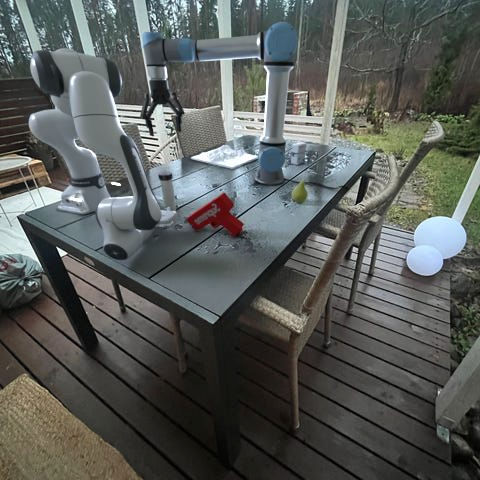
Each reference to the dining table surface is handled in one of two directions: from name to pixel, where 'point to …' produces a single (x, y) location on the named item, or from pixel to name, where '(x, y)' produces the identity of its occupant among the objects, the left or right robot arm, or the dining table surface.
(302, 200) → the fruit
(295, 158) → the ink box
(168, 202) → the bottle
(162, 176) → the lid
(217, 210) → the toy gun
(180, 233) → the dining table surface
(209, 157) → the relief map
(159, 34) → the right robot arm
